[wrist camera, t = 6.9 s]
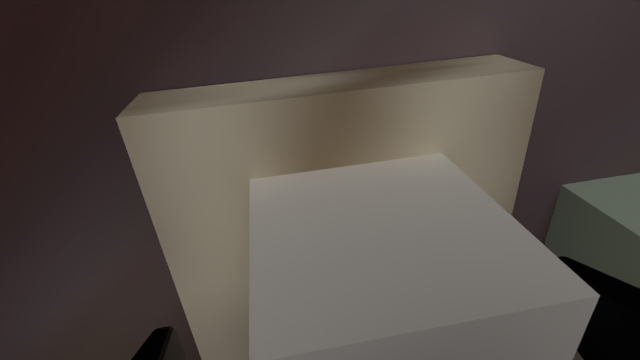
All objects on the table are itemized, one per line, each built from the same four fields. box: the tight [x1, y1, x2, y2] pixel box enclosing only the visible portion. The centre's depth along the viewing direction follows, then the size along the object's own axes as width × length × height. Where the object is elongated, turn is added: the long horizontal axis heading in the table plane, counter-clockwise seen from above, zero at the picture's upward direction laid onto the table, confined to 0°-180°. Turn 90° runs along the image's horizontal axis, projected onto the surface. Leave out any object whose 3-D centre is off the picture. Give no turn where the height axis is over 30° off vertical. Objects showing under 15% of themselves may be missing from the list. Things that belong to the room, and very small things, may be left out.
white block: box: [249, 153, 600, 360], centre depth 8 cm, size 5×5×5 cm
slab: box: [116, 54, 545, 360], centre depth 11 cm, size 10×9×2 cm
